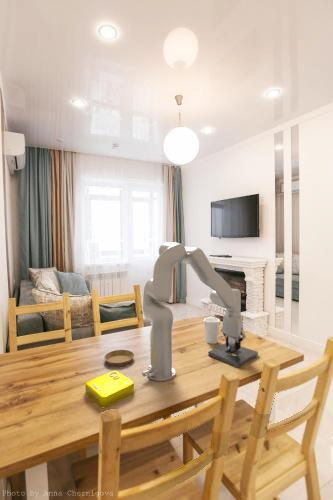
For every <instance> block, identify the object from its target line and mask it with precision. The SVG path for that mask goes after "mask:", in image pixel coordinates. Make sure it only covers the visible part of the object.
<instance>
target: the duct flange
mask: <svg viewBox="0 0 333 500" xmlns="http://www.w3.org/2000/svg"><path fill="white" fill-rule="evenodd" d="M231 353H233V354H231ZM234 354H236V355H234ZM207 355H208V357H211V358H213V359H216V360H218V361H221V362H224V363H226V364H229V365H231V366H234V367H235V368H241V367H243V366H245V365H246V364H247V363H248V362H251V361H252V360H254V359H255V358H257V357H258V355H259V351H255V350H253V349H250V348H247V347H244V346H241V347H240V349H239V350H238V351H230V350H229V349H228V347H226V342H225V343H224V344H221V345H219V346H217V347H215V348H213V349H211V350H209V351H208V354H207Z"/></svg>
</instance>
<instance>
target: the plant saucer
mask: <svg viewBox="0 0 333 500" xmlns="http://www.w3.org/2000/svg"><path fill="white" fill-rule="evenodd" d="M134 357H135V353H134V352H133V351H131V350H127V349H116V350H112V351H109V352H107V353H106V354H105V355H104V361H106V362H107V363H108V364H109V365H112V366H116V367H117V366H118V367H119V366H125V365H128V363H130V362H131V361H132V360H133V359H134Z"/></svg>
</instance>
